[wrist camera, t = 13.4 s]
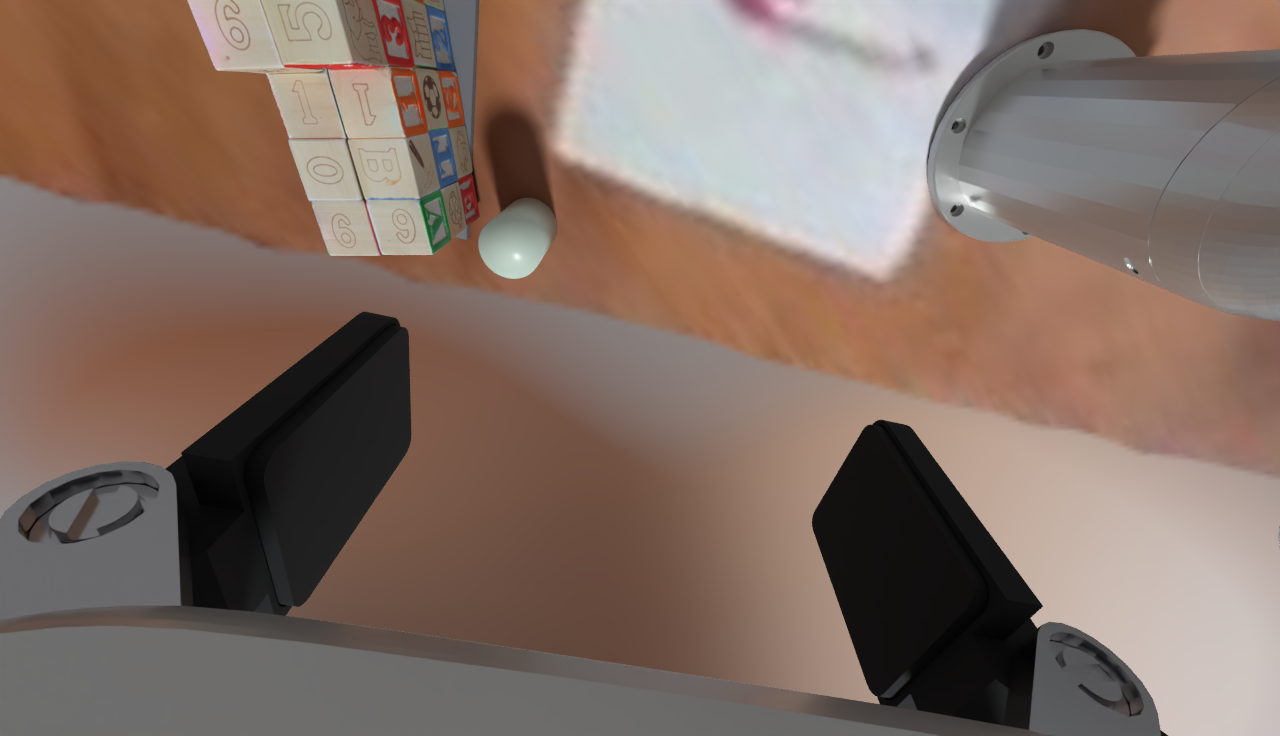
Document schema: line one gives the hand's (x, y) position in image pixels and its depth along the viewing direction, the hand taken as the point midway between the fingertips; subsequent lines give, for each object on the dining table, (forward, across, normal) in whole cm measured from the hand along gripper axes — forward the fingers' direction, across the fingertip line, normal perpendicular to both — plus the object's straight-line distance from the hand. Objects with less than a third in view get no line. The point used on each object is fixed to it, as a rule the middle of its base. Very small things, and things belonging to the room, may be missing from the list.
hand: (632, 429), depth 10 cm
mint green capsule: (+28, +8, +5) cm, 30 cm away
